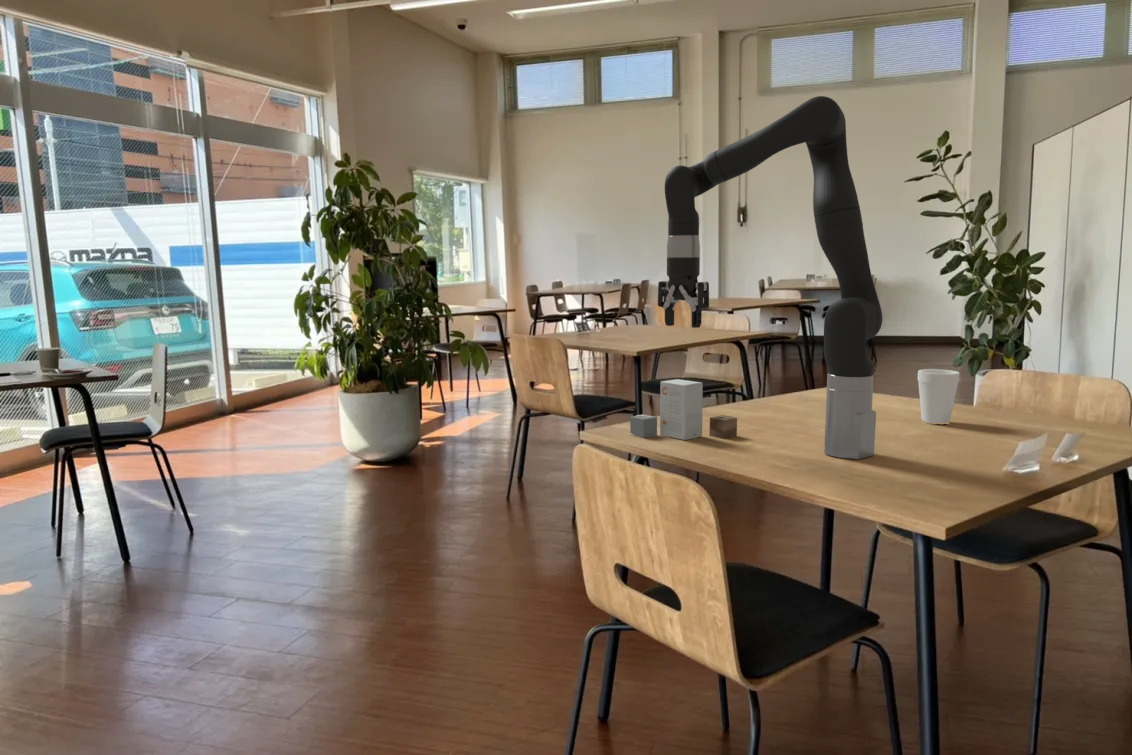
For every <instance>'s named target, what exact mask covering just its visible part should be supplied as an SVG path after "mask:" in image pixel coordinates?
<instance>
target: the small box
mask: <svg viewBox="0 0 1132 755" xmlns="http://www.w3.org/2000/svg"><path fill="white" fill-rule="evenodd" d="M659 384H660V389H659V390H660V391H659V392H660V398H659V399H660V404H659V405H660V407H659V411H660V412H659V414H660V416H659V419H660V420H659V422H660V423H659V424H660V425H659V427H660V428H659V432H660V433H659V435H660V436H665V437H669V438H673V439H679V440H682V441H686V440H693V439H697V438H701V437H702V436H703V396H704V395H703V388H704V386H703V382H702V381H701V382H700V381H694V380H685V379H678V378H676V379H670V380H669V379H667V380H663V381H660V383H659Z"/></svg>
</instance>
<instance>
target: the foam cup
mask: <svg viewBox="0 0 1132 755" xmlns="http://www.w3.org/2000/svg"><path fill="white" fill-rule="evenodd" d="M917 381H918V392H919V404H920V416H921V421H922V420H923V421H925V422H930V423H948V422H950V421H951V418H952V414H953V410H954V409H953V408H954V405H955V404H954V403H955V400H956V394H957V390H958V389H957V388H958V384H959V382H960V372H959V371H956V370H952V369H951V370H950V369H941V368H939V369H938V368H924V369H919V370H917ZM950 423H951V422H950Z"/></svg>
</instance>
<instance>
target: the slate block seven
mask: <svg viewBox="0 0 1132 755" xmlns="http://www.w3.org/2000/svg"><path fill="white" fill-rule="evenodd" d="M629 421H630V424H629V426H630V427H629V429H630V431H629V434H630V433H632V434H634V435H636V436H635V437H637V436H639V437H638V438H641V439H646V438H651V437H656V436H658V416H653V415H648V414H637V415H634V416H630V420H629Z"/></svg>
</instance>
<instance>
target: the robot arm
mask: <svg viewBox="0 0 1132 755" xmlns="http://www.w3.org/2000/svg"><path fill="white" fill-rule="evenodd" d="M846 123H847V122H846V117H845V114H844V112H843V111H842V108H841V107H840V105H838V103H837V102H836V101H835V100H834V99H833V98H831V97H829V96H823V95H818V96H814V97H810V99H808V100H807V101H804V102H803V103H801V104H799V106H796V107H795V108H793V109H792V110H791V111H789V112H788V113H786V114H784V115H783V116H781V117H779V118H778V119H777V120H775V121H773V122H772V123H770V124H768V125H766V126H765V127H763V128H761V129H759V130H757V131H755V132H753V133H751V134H750V135H747V136H745V137H744V138H741V139H739V140H736V141H734V142H733V143H730V144H728V145H726V146H723V147H722V148H719V149H717V150H715V151H713V152H711V153H709V154H708V155H706V156H705V158H704V159H703V160H702V161H700V162H698V163H695V164H694V165H691V166H686V165H676V166H673V167H672V168H671V169H669V171H668V172H667V174H666V176H665V180H664V194H665V195H664V196H665V202H666V204H665V205H666V210H667V215H668V222H667V226H668V227H667V229H668V230H667V233H668V234H667V235H668V236H667V244H666V276H667V277H668V280H667V281H664V280H662V281H658V284H657V288H658V289H657V306H658V307H659V308H660V307H661V308H663V311H664V322H665V326H667V327H671V326H674V325H675V309H674V308H675V306H676V305H677V303H679V301H685V302H686V303H687V304H688V305H689V306H690V308H691V310H692V311H691V328H694V329H698V328H701V325H702V318H703V317H702V315H703V314H702V311H703V310H705V309H709V308H710V284H709V281H699V280H698V277H699V276H700V274H701V272H700V271H701V269H700V268H701V267H700V265H701V263H700V262H701V260H700V259H701V258H700V257H701V254H700V252H701V244H700V216H699V213H698V210H696V204H695V201H696V200H695V198H696V197H699V196H700V195H703V194H705V193H706V192H708V191H710V190H711V189H713V188H715V187H716V186H718V185H720V184H722V183H725V182H728V181H730V180H732V179H734V178H737V177H739V176H741V175H743V174H745V173H748V172H750V171H752V170H753V169H755V168H757V167H758V166H759V165H761V164H762V163H764V162H765V161H767V160H768V159H769V158H771V157H772V156H774V155H775V154H778V153H780V152H782V151H784V150H786V149H788V148H791V147H794V146H797V145H801V144H804V143H805V144H806V147H807V151H808V154H809V159H810V162H811V165H812V173H813V189H812V190H813V195H812V196H813V197H812V206H813V207H812V208H813V217H814V218H813V219H814V225H815V230H816V235H817V239H818V242H819V245H820V247H821V250H822V251H823V254H824V255H825V257H826V259H827V261H828V262H829V263H830V266H831V267H832V269H833V271H834V273H835V275H836V277H837V282H838V286H839V290H840V292H839V293H840V297H841V298H840V299H837V300H835V301H834V302H832V303H831V304H830V305H829V307H828V308H827V310H826V311H825V316H824V322H823V354H824V356H823V357H824V360H825V364H826V366H827V371H826V372H827V374H826V375H827V377H826V397H825V398H826V399H825V401H826V402H825V406H826V407H825V425H824V429H825V430H824V449H823V450H824V451H823V452H824V453H825V454H826V455H827V456H831V457H834V458H835V457H836V458H841V459H853V460H861V459H865V458H869V457H872V456H875V445H876V442H875V441H876V424H877V423H876V422H877V421H876V420H877V412H876V411H875V410H873V394H874V377H875V375H874V374H875V364H874V361H873V360H872V359H870V358H869V356H868V355H867V341H868V340H871V339H873V338H874V337H876V336H877V335H878V333H879V332H880V331H881V328H882V325H883V312H882V307H881V304H880V299H879V296H878V293H877V290H876V286H875V282H874V280H873V276H872V271H871V267H870V260H869V254H868V248H867V244H866V238H865V233H864V232H865V230H864V223H863V218H862V213H861V207H860V203H859V198H858V197H859V196H858V193H857V190H856V186H855V182H854V179H853V178H854V177H853V176H852V173H851V168H850V163H849V157H848V147H847V145H848V144H847V143H848V142H847V129H846V125H847V124H846Z"/></svg>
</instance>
